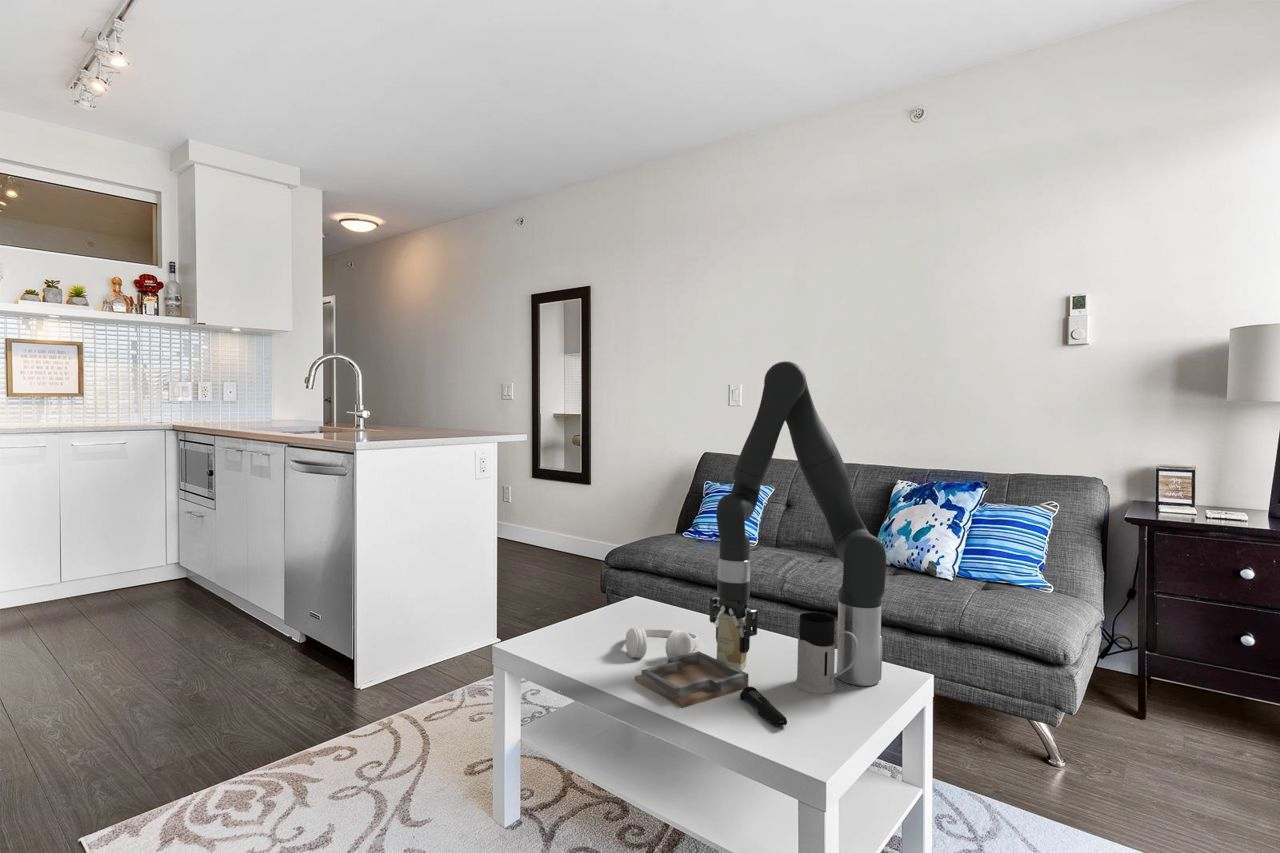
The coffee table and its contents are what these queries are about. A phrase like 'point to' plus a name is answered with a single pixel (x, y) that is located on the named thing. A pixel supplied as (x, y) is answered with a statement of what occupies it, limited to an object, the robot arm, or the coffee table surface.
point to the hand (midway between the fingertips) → (732, 647)
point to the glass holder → (818, 653)
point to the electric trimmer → (763, 706)
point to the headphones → (676, 640)
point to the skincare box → (730, 642)
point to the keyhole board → (693, 679)
